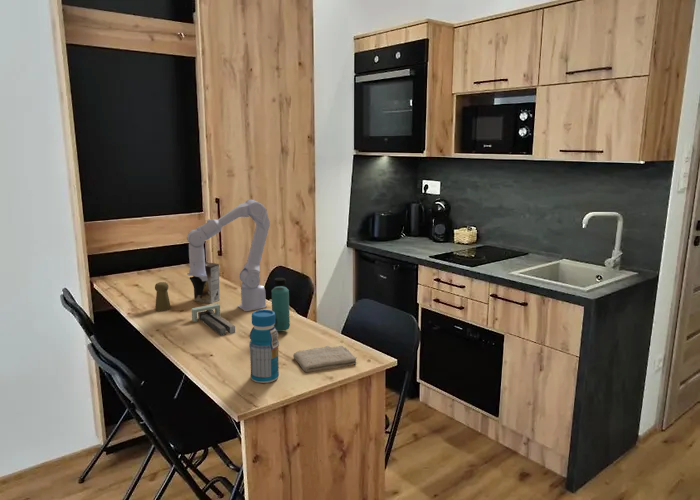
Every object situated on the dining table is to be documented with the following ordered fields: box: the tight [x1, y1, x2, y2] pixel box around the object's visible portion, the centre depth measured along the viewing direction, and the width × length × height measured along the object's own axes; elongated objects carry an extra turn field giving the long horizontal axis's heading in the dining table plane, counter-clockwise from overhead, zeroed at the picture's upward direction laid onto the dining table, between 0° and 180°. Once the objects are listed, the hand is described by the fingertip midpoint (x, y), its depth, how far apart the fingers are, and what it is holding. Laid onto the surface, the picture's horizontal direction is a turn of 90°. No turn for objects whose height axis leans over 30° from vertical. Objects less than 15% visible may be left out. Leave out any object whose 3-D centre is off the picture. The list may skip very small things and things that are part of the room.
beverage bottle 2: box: [271, 277, 291, 332], centre depth 191 cm, size 6×7×20 cm
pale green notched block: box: [191, 303, 221, 323], centre depth 204 cm, size 10×2×5 cm, turn 126°
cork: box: [154, 281, 172, 312], centre depth 214 cm, size 6×6×11 cm
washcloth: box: [293, 345, 357, 373], centre depth 168 cm, size 12×18×3 cm, turn 113°
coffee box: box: [193, 261, 221, 304], centre depth 226 cm, size 9×6×16 cm
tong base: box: [197, 310, 227, 336], centre depth 198 cm, size 5×22×2 cm, turn 36°
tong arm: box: [206, 309, 236, 334], centre depth 199 cm, size 2×21×3 cm, turn 38°
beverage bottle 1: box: [248, 309, 280, 384], centre depth 154 cm, size 8×8×20 cm
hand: (199, 294), depth 209 cm, fingers closed
